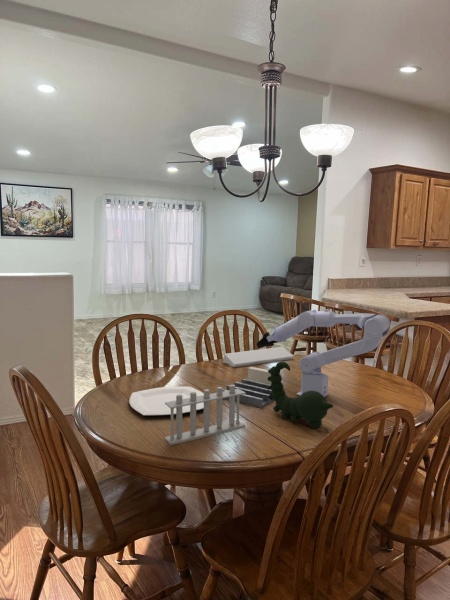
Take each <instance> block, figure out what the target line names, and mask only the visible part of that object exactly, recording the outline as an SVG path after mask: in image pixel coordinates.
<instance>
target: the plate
mask: <svg viewBox="0 0 450 600" xmlns="http://www.w3.org/2000/svg"><path fill="white" fill-rule="evenodd" d="M191 392H196V394H197V395H196V397H197V396H202V395H204V392H202V391H200V390H198V389H196V388H194V387H192V386H161V387H160V386H159V387H155V388H149V389H142V390H139V391H134V392H132V393H131V395H130V396H129V400H128V401H129V405H130V407H131V409H133V410H134V411H136V412H137V413H139V414H140V415H141V416H144V417H145V416H147V417H149V416H153V417H154V416H155V417H156V416H171V409H170V408H169V407H168V406H167V405H166V404H165V402H170V401H176V397H177V396H176V395H178V394H181V395H182V397H183V398H182V399H186V398H190V394H191ZM200 410H204V402H202V403H197V404H196V412H197V411H200ZM188 413H190V405H187V406H182V415H183V414H188ZM174 416H176V408H174Z"/></svg>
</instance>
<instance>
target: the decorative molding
mask: <svg viewBox="0 0 450 600" xmlns="http://www.w3.org/2000/svg"><path fill="white" fill-rule="evenodd" d="M294 358H295V355H293V353H291V352H290V351H289V350H288V349H286V348H285V347H283V346H277V347H269V348H259V349H253V350H252V349H251V350H246V351H243V350H242V351H237V352H229V353H224V354H223V360H222V361H223V362H222V363H223V364H227V365H228V366H230V367H232V368H238V367H246V366H253V365H261V364H268V363H274V362H284V361H288V360H290V361H291V360H293V359H294Z"/></svg>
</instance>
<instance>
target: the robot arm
mask: <svg viewBox="0 0 450 600" xmlns="http://www.w3.org/2000/svg"><path fill="white" fill-rule="evenodd" d="M336 324H345V325H347V324H348V325H357V326H358V327H359V328H360V329H363V336H362V339H359V340H357V341H353V342H351V343H347V344H344V345H341V346H337V347H334V348H332V349H328V350H326V351H325V350H324V351H320V352H318V351H313V352H311V353H310V354H308V355H305V356H303V357H301V358H300V359H299V361H298V366H299V369H300V370H301V374H300V375H301V377H300V378H301V379H300V391H299V392H297V393H296V396H298V397H300V395H301V394H303V393H304V392H306V391H317V392H319V393H321V394H322V395H323V396H324V397H325V398H326V397H327V396H329V393H328V390H329V388H328V387H329V377H328V374H326V373H323V372H322V367H324V366H327V365H329V364H333V363H336V362H339V361H342V360H343V361H344V360H346V359H350V358H353V357H357V356H359V355H363V354H365V353H369V352H373V351H374V350H375V349H376V348H377V347H378V346H379V345H380V344H381V342H382V341H383V340H384V338H385V337H386V336H387V335H388V334H389V330H390V327H391V320H390V319H389V317H388V316H386V314H376V313H367V312H366V313H365V312H362V313H360V312H359V313H344V314H343V313H341V314H339V313H337V314H336V313H335V312H334V311H333V310H330V309H329V308H327V309H324V310H318V311H317V310H316V309H313V310H307V311H303V312H301V313H299V315H298V316H296V317H293V318H291V319H290V320H289V321H286V322H285V323H283V324H281V325H279V326H278V325H277V324H276V325H275V324H274V326H273V330H272V332H271V333H269V331H266V332H265V333H264V334H263V336H262V337H261V339H259V341H257V343H256V346H257V348H258V349H263V348H265V347H274V346H275V344H276V343H284V342H286V341H287V340H289V339H290V338H292V337H294V336H296V335H297V334H300V333H301V332H303V331H304V330H305V329H308V328H311V327H316V328H317V327H318V328H321V327H322V328H333V327H334V326H335V325H336Z"/></svg>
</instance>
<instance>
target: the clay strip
mask: <svg viewBox="0 0 450 600" xmlns="http://www.w3.org/2000/svg"><path fill="white" fill-rule="evenodd" d="M247 368H248V370H247V380H251V381H256V382H260V383H265V384H269V385H271V381H268V377H270V376H271V374H270V373H269V372H268V370H269V369H265V368H259V367H255V366H250V367H247ZM282 374H283V373H282V372H280V375H281V377H282ZM282 378H283V377H282Z"/></svg>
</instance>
